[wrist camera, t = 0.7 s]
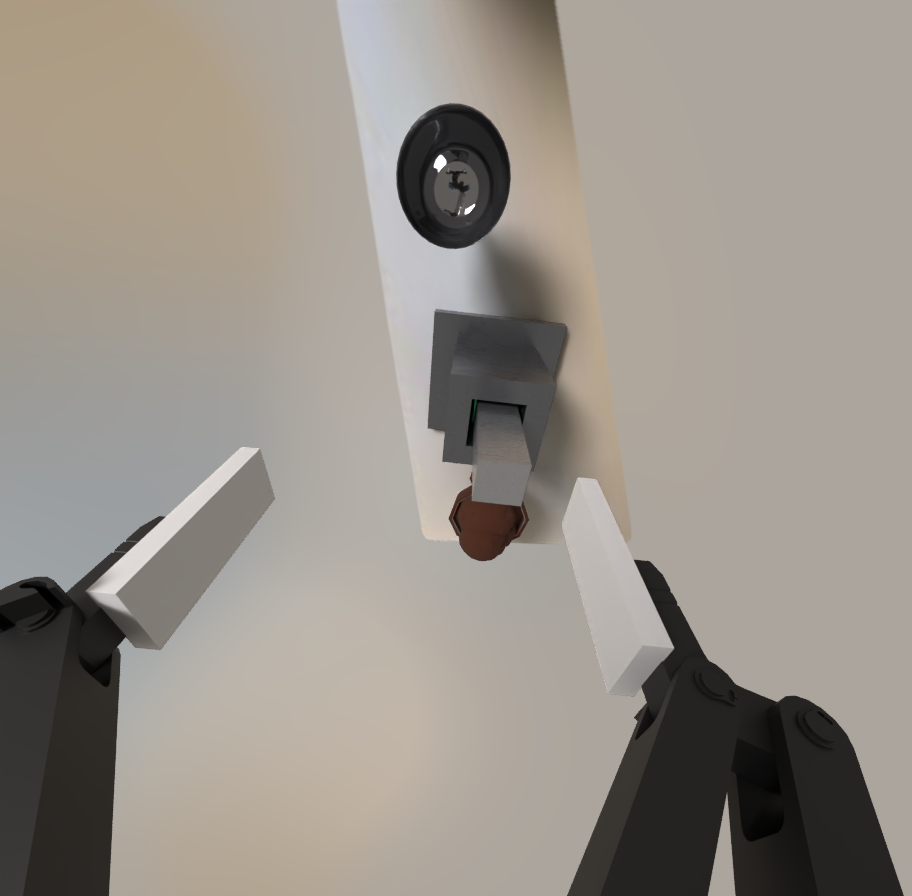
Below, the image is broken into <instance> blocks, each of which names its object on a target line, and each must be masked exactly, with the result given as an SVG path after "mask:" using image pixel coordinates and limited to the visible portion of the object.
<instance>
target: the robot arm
mask: <svg viewBox="0 0 912 896" xmlns="http://www.w3.org/2000/svg"><path fill="white" fill-rule="evenodd" d="M274 499H275V497H274V493H273V490H272V487H271V483H270V480H269V477H268V473H267V470H266V467H265V463H264V460H263V457H262V453H261V450H260V449H258V448H248V447H241V448H240V449H239V450H238V451H237V452H236V453H235V454H234V455H233V456H231V457H230V458H229V459H228V460H227V461H226V462H225V463H224V464H223V465H222V466H221V467H219V468H218V469H217V470H216V471H215V472H214V473H213V474H212V475H211V476H210V477H209V478H208V479H206V480H205V481H204V482H203V483H202V484H201V485H200V486H199V487H198V488H197V489H196V490H195V491H193V492H192V493H191V494H190V495H189V496H188V497H187V498H186V499H185V500H184V501H183V502H182V503H181V504H179V505H178V506H177V507H176V508H175V509H174V510H173V511H172V512H171V513H170V514H168V515H167V516H166V517H162V516H159V517H157V518H155V519H154V520H152V521H150V522H148V523H147V524H145V525H143V526H141V527H140V528H139V529H138V530H137V531H136V532H134V533H133V534H132V535H131V536H130V537H129V538H128V539H127V540H126V542H123V543H122V544H121V545H120V546H118V547H117V549H115V551H114V553H111V554H110V555H108V556H107V557H106V558H105V559H104V560H103V561H101V562H100V563H99V564H98V565H97V566H96V567H95V568H94V569H92V570H91V571H90V572H89V573H88V574H87V575H86V576H85V577H83V578H82V579H81V580H80V581H79V582H78V583H77V584H75V585H74V586H73V587H72V588H71V589H70V590H69V591H68V592H66V593H65V592H64V591H63V590H62V589H61V588H60V586H59V585H57V583H56V582H55V581H54V580H52V579H50V578H48V577H34V578H30V579H25V580H21V581H19V582H17V583H14V584H12V585H10V586H7V587H5V588H4V589H2V590H0V896H109V880H110V862H111V861H110V860H111V840H112V820H113V799H114V779H115V760H116V739H117V719H118V718H117V717H118V697H119V677H120V657H121V655H120V652H119V649H118V648H117V646H118V645H119V644H120V643H121V642H122V641H123V639H124V638H125V637H126V638H127V639H128V640H129V641H130V642H131V643H132V644H133V646H134V647H136V648H146V649H156V650H161V649H162V648H163V646H164V645H165V644H166V642H167V641H168V640H169V638H170V637H171V636H172V634H173V633H174V632H175V630H176V629H177V628H178V626H179V625H180V624H181V622H182V621H183V620H184V619H185V617H186V616H187V615H188V613H189V612H190V611H191V609H192V608H193V607H194V605H195V604H196V603H197V601H198V600H199V598H200V597H201V596H202V595H203V593H204V592H205V591H206V589H207V588H208V587H209V585H210V584H211V583H212V581H213V580H214V579H215V578H216V576H217V575H218V573H219V572H220V571H221V570H222V568H223V567H224V566H225V564H226V563H227V562H228V560H229V559H230V557H231V556H232V555H233V554H234V552H235V551H236V550H237V548H238V547H239V546H240V544H241V543H242V542H243V540H244V539H245V538H246V537H247V535H248V534H249V532H250V531H251V530H252V529H253V527H254V526H255V524H256V523H257V522H258V521H259V519H260V518H261V517H262V515H263V514H264V513H265V511H266V510H267V509H268V507H269V506H270V505H271V503H272V502H273V501H274ZM562 529H563V533H564V536H565V540H566V544H567V547H568V551H569V554H570V558H571V562H572V566H573V569H574V573H575V577H576V580H577V584H578V588H579V591H580V595H581V599H582V602H583V606H584V610H585V613H586V617H587V621H588V624H589V628H590V632H591V635H592V639H593V642H594V646H595V650H596V654H597V658H598V661H599V665H600V668H601V672H602V676H603V680H604V683H605V686H606V690H607V694H611V695H622V696H631V697H634V696H635V695H636V694H637V692H638V691H639V690H640V689H641V688H642V690H643V693H644V695H645V698H646V701H647V703H646V704H645V705H644V706H643V708H642V709H641V710H640V711H639V712H638V713H637V715H636V716H635V717H634V718H635V719H636V720H637V721H638V722H637V724H636V727H635V729H634V732H633V734H632V737H631V739H630V742H629V744H628V747H627V749H626V752H625V754H624V757H623V759H622V762H621V764H620V766H619V769H618V772H617V774H616V776H615V779H614V781H613V784H612V786H611V789H610V791H609V794H608V796H607V799H606V801H605V804H604V806H603V809H602V811H601V813H600V816H599V818H598V821H597V824H596V826H595V828H594V831H593V833H592V836H591V838H590V841H589V843H588V846H587V848H586V850H585V853H584V856H583V858H582V861H581V863H580V865H579V868H578V870H577V873H576V875H575V878H574V881H573V883H572V885H571V888H570V890H569V892H568V895H567V896H708V891H709V886H710V881H711V875H712V869H713V864H714V859H715V853H716V848H717V842H718V837H719V831H720V827H721V821H722V816H723V810H724V804H725V799H726V794H727V795H728V807H729V819H730V831H731V844H732V856H733V869H734V881H735V894H736V896H904V895H903V892H902V889H901V886H900V883H899V880H898V877H897V875H896V872H895V869H894V866H893V863H892V860H891V857H890V854H889V851H888V848H887V845H886V842H885V839H884V836H883V833H882V830H881V827H880V824H879V821H878V818H877V815H876V812H875V809H874V806H873V804H872V801H871V798H870V795H869V792H868V789H867V786H866V783H865V780H864V777H863V774H862V771H861V768H860V765H859V762H858V759H857V756H856V753H855V750H854V748H853V746H852V744H851V742H850V740H849V738H848V736H847V734H846V733H845V732H844V730H843V729H842V728H841V727H840V726H839V725H838V723H837V722H836V721H835V720H834V719H833V718H832V717H831V716H829V715H828V714H827V713H826V712H825V711H824V710H823V709H822V708H820V707H818V706H816V705H815V704H814V703H812V702H810V701H808V700H806V699H803V698H800V697H798V696H786V697H784V698H783V699H781V700H780V701H779V702H775V701H773V700H771V699H768V698H766V697H763V696H761V695H758V694H756V693H754V692H751V691H749V690H746V689H744V688H742V687H740V686H738V685H736V684H735V683H734V682H733V681H732V679H731V678H730V677H729V676H728V674H726V673H725V672H724V671H723V670H722V669H720V668H719V667H718V666H717V665H716V664H714V663H712V662H710V661H708V659H707V658H706V656H705V654H704V653H703V651H702V649H701V647H700V645H699V643H698V641H697V640H696V638H695V636H694V634H693V632H692V630H691V628H690V626H689V624H688V622H687V621H686V618H685V617H684V615H683V613H682V611H681V609H680V607H679V606H677V601H676V599H675V597H674V596H673V594H672V593H671V592H670V588H669V586H668V584H667V582H666V580H665V578H664V577H663V575H662V574H661V573H660V572H659V571H658V570H657V568H656V567H655V566H654V565H653V564H652V563H651V562H650V561H641V560H633V558H632V556H631V553H630V551H629V549H628V547H627V545H626V542H625V540H624V538H623V536H622V534H621V532H620V529H619V527H618V525H617V523H616V521H615V519H614V516H613V514H612V512H611V510H610V508H609V505H608V503H607V501H606V499H605V497H604V495H603V492H602V490H601V488H600V486H599V484H598V482H597V479H590V478H579V477H578V478H577V481H576V484H575V486H574V489H573V492H572V495H571V498H570V501H569V504H568V507H567V510H566V513H565V516H564V519H563V522H562Z"/></svg>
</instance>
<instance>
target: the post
mask: <svg viewBox="0 0 912 896" xmlns="http://www.w3.org/2000/svg"><path fill="white" fill-rule="evenodd" d="M472 422H473V468H472V501H477V502H486V503H495V504H504V505H513V506H521V505H522V501H523V497H524V493H525V490H526V486H527V482H528V478H529V475H530V471H531V467H532V465H531V461H530V457H529V453H528V448H527V444H526V440H525V436H524V432H523V427H522V423H521V419H520V415H519V411H518V407H517V404H513V403H504V402H495V401H486V400H477V399H474V407H473V415H472Z"/></svg>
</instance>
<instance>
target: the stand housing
mask: <svg viewBox="0 0 912 896" xmlns="http://www.w3.org/2000/svg"><path fill="white" fill-rule="evenodd" d="M566 329H567V326H566V325H565V324H561V323H552V322H544V321H535V320H526V319H517V318H509V317H500V316H491V315H482V314H474V313H465V312H456V311H447V310H439V309H436V310H435V316H434V332H433V348H432V365H431V381H430V398H429V414H428V428H430V429H439V430H445V438H444V449H443V460H442V461H443V462H452V463H461V464H470V465H473V422H472V415H473V407H474V399H477V400H486V401H495V402H504V403H513V404H517V407H518V411H519V415H520V419H521V423H522V427H523V432H524V436H525V440H526V444H527V448H528V453H529V457H530V461H531V465H532V467H531V471H534V467H535V463H536V459H537V456H538V452H539V448H540V445H541V441H542V437H543V434H544V430H545V426H546V423H547V419H548V415H549V411H550V408H551V404H552V400H553V397H554V393H555V389H556V386H557V385H556V384H555V382H554V380H553V378H554V375H555V371H556V367H557V363H558V359H559V356H560V352H561V348H562V344H563V340H564V337H565V333H566Z"/></svg>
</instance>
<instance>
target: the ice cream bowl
mask: <svg viewBox="0 0 912 896" xmlns="http://www.w3.org/2000/svg"><path fill="white" fill-rule="evenodd" d="M470 480H471V483H472V474H471V477H470ZM449 520H450V522H451V524H452V526H453V528H454V531H455V533H456V535H457V536H459V541H460V546H461V547H462V549H463V551H464V552H465V553H466V554H467V555H468V556H470V557H471V558H473V559H475V560H479V561H487V560H492V559H494V558H495V557H496V556H497V555H500V554H501V553H502V552H503V551H504V549H505V547H506V546H508V545H509V544H510V542H511V541H512V540H513V539H515V538H518V537H520V535H521V533H522V531H523V529H524V528H525V526H526V524H527V522H528V521H529V519H528V516H527V513H526V509H525V506H524V503H523V501H522V505H521V506H513V505H504V504H495V503H486V502H477V501H472V485H471V486H470V487H468V488H466V489H464V490H463V491H461V492H460V493H459V494H458V496H457V498H456V501H455V503H454V506H453V509H452V511H451V514H450V516H449Z"/></svg>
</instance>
